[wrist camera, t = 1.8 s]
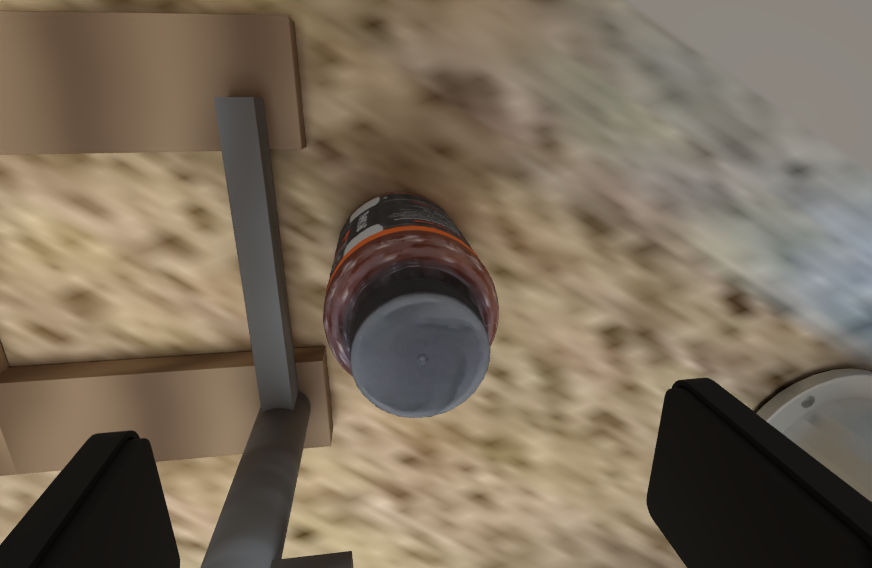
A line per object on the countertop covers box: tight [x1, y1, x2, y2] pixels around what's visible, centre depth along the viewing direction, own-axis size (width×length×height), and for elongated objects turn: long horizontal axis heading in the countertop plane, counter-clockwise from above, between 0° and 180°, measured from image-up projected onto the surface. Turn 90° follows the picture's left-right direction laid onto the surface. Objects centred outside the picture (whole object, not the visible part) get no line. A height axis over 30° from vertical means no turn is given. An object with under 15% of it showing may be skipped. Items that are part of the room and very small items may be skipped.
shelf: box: [0, 11, 353, 568], centre depth 17 cm, size 22×20×12 cm
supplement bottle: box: [323, 192, 499, 418], centre depth 19 cm, size 6×6×11 cm
